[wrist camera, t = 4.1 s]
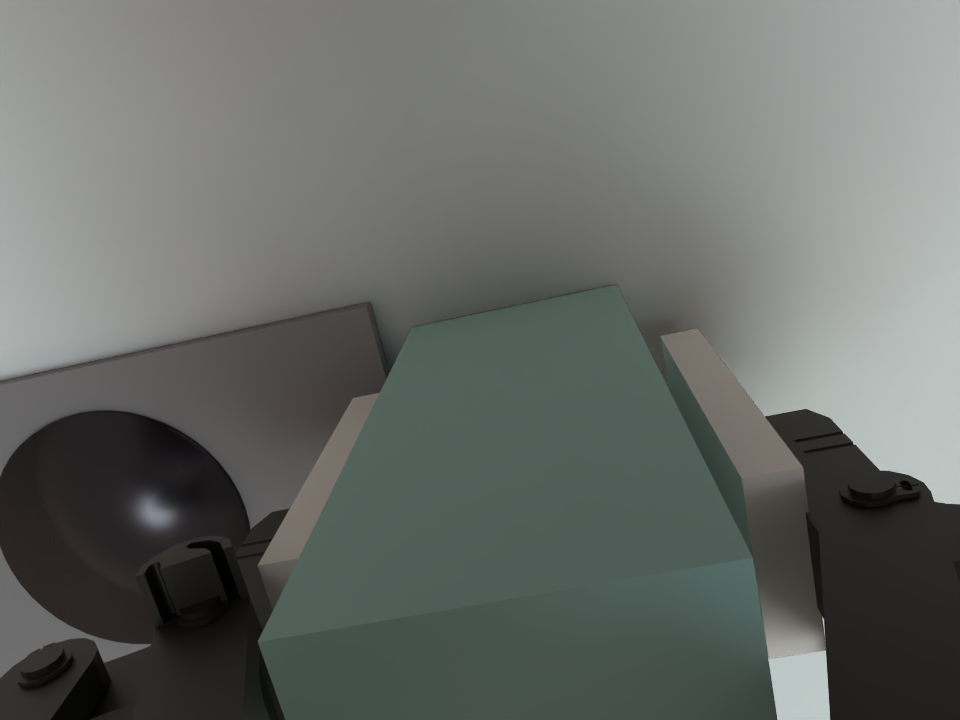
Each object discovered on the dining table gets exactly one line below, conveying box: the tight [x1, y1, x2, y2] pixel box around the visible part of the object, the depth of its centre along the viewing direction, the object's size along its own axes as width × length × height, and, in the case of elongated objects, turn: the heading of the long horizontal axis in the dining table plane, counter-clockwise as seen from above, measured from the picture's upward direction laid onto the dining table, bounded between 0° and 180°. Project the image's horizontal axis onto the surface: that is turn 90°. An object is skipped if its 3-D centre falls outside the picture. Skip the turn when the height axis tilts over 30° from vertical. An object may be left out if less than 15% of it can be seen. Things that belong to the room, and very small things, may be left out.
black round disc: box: [0, 411, 250, 644], centre depth 20 cm, size 6×6×1 cm
